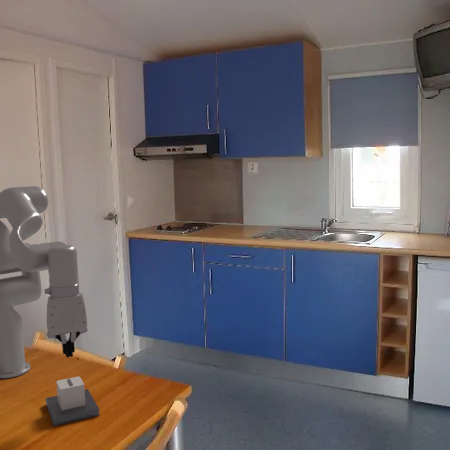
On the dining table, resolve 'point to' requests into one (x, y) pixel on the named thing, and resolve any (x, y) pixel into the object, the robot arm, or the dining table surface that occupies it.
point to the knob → (70, 393)
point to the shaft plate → (71, 410)
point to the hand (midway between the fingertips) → (68, 355)
